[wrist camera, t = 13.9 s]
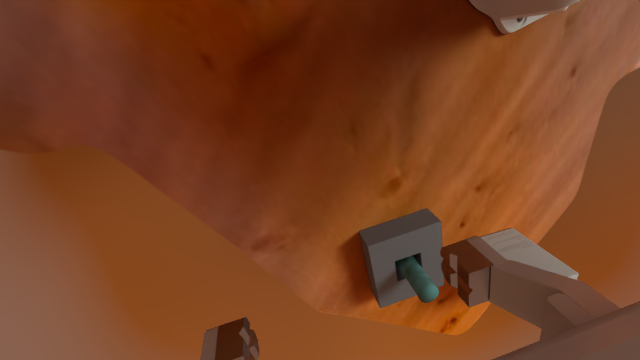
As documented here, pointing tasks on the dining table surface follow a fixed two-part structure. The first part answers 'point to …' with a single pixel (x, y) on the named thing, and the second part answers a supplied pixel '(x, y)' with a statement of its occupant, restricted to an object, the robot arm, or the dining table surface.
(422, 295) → the teal peg
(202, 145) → the dining table surface
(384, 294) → the hole block
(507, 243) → the supplement box
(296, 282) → the dining table surface
